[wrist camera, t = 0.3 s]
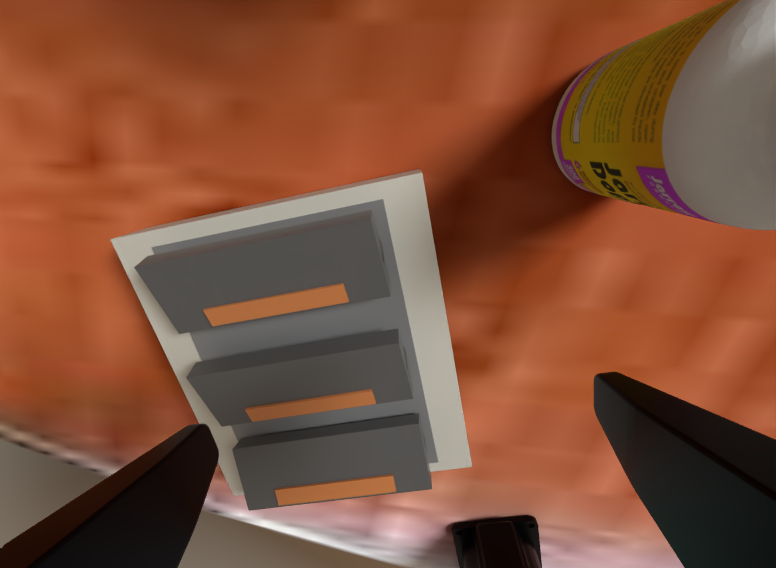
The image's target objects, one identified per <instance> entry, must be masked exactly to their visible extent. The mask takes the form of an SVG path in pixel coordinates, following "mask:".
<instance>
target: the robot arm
mask: <svg viewBox="0 0 776 568" xmlns="http://www.w3.org/2000/svg"><path fill="white" fill-rule="evenodd" d="M594 410H595V413H596V416H597V418H598V420H599V422H600V424H601V426H602V428H603V430H604V432H605V434H606V436H607V438H608V440H609V442H610V444H611V446H612V448H613V450H614V452H615V454H616V456H617V458H618V459H619V461H620V463H621V465H622V467H623V469H624V471H625V473H626V475H627V477H628V479H629V481H630V482H631V484H632V486H633V488H634V489H635V491H636V493H637V494H638V496H639V497H640V499H641V501H642V502H643V504H644V505H645V507H646V508H647V510H648V511H649V513H650V515H651V516H652V518H653V519H654V521H655V522H656V524H657V525H658V527H659V529H660V530H661V532H662V533H663V535H664V536H665V538H666V539H667V541H668V543H669V544H670V546H671V547H672V549H673V550H674V552H675V553H676V555H677V557H678V558H679V560H680V561H681V563H682V564H683V566H684V567H685V568H776V440H775V439H773V438H770V437H768V436H766V435H763V434H761V433H759V432H756V431H754V430H752V429H749V428H747V427H745V426H742V425H740V424H738V423H735V422H733V421H731V420H728V419H726V418H724V417H721V416H719V415H716V414H714V413H712V412H709V411H707V410H705V409H702V408H700V407H698V406H695V405H693V404H691V403H688V402H686V401H684V400H681V399H679V398H677V397H674V396H672V395H670V394H667V393H665V392H663V391H660V390H658V389H656V388H653V387H651V386H648V385H646V384H644V383H641V382H639V381H637V380H634V379H632V378H630V377H627V376H625V375H623V374H620V373H618V372H607V373H599V374H597V375H596V376H595V377H594ZM218 459H219V450H218V447H217V444H216V442H215V440H214V437H213V435H212V433H211V430H210V428H209V426H207V425H206V424H203V423H202V424H194V425H189V426H186V427H185V428H183V429H182V430H180V431H179V432H177V433H176V434H174V435H172V436H171V437H169V438H168V439H166V440H165V441H163V442H162V443H160V444H159V445H157V446H156V447H154V448H152V449H151V450H149V451H148V452H146V453H145V454H143V455H142V456H140V457H139V458H137V459H136V460H134V461H132V462H131V463H129V464H128V465H126V466H125V467H123V468H122V469H120V470H119V471H117V472H115V473H114V474H112V475H111V476H109V477H108V478H106V479H105V480H103V481H102V482H100V483H99V484H97V485H95V486H94V487H92V488H91V489H90V490H88V491H86V492H85V493H83V494H82V495H80V496H79V497H77V498H75V499H74V500H72V501H71V502H69V503H68V504H66V505H65V506H63V507H62V508H60V509H59V510H57V511H56V512H54V513H52V514H51V515H49V516H48V517H46V518H45V519H43V520H42V521H40V522H39V523H37V524H35V525H34V526H32V527H31V528H29V529H28V530H26V531H25V532H23V533H22V534H20V535H19V536H17V537H16V538H14V539H12V540H11V541H10V542H8V543H6V544H5V545H4V546H3V547H2V548H0V568H178V566H179V563H180V561H181V559H182V556H183V554H184V552H185V549H186V547H187V545H188V543H189V541H190V538H191V536H192V534H193V531H194V529H195V526H196V523H197V521H198V518H199V515H200V513H201V510H202V507H203V504H204V501H205V498H206V495H207V492H208V489H209V486H210V483H211V480H212V477H213V474H214V472H215V469H216V466H217V463H218ZM452 532H453V537H454V542H455V547H456V552H457V556H458V561H459V566H460V568H542V563H541V552H540V542H539V531H538V524H537V521H536V518H535V517H533V516H524V517H515V518H505V519H496V520H487V521H477V522H468V523H458V524H455V525H453V527H452Z"/></svg>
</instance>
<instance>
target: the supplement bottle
mask: <svg viewBox="0 0 776 568" xmlns="http://www.w3.org/2000/svg"><path fill="white" fill-rule="evenodd" d="M552 148H553V153H554V156H555V159H556V162H557V164H558V166H559V168H560V170H561V171H562V173H563V174H564V175H565V176H566V177H567V178H568V179H569V180H570V181H571V182H572V183H574V184H575V185H576V186H578V187H579V188H581V189H584V190H586V191H589V192H592V193H595V194H599V195H602V196H606V197H610V198H614V199H619V200H623V201H626V202H631V203H635V204H639V205H645V206H648V207H653V208H657V209H661V210H666V211H670V212H674V213H679V214H683V215H687V216H691V217H695V218H699V219H703V220H707V221H711V222H715V223H719V224H724V225H729V226H733V227H738V228H745V229H754V230H776V0H727V1H724V2H722V3H720V4H717V5H715V6H713V7H710V8H708V9H706V10H704V11H702V12H700V13H697V14H695V15H693V16H690V17H688V18H686V19H684V20H682V21H679V22H677V23H675V24H673V25H670V26H668V27H666V28H664V29H661V30H659V31H657V32H655V33H653V34H650V35H648V36H646V37H644V38H642V39H639V40H637V41H635V42H632V43H630V44H628V45H626V46H623V47H621V48H618V49H617V50H615V51H613V52H610V53H608V54H606V55H605V56H603V57H601V58H599V59H598V60H596V61H594V62H593V63H592V64H590V65H589V66H588V67H587V68H586V69H584V70H583V71H582V72H581V73H580V74H579V75H578V76H577V77H576V78H575V79H574V81H573V82H572V83H571V84H570V86H569V87H568V89H567V90H566V91H565V93H564V95H563V97H562V99H561V101H560V103H559V105H558V108H557V110H556V113H555V117H554V121H553V126H552Z"/></svg>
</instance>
